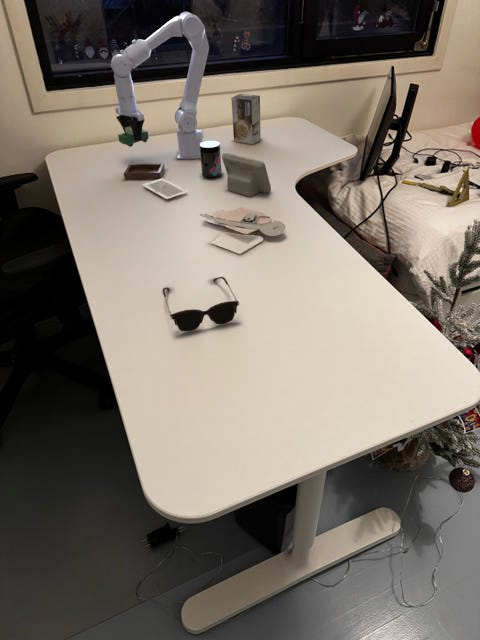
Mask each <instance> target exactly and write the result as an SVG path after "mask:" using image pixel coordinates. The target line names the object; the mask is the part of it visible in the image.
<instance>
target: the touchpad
mask: <svg viewBox="0 0 480 640" xmlns="http://www.w3.org/2000/svg"><path fill="white" fill-rule="evenodd" d="M142 186H143V187H145V188H146V189H148V190H149V191H151V192H153V193H155V194H157V195H159V196H160V197H162V198H163V199H166V200H168V199H172V198H174V197H177V196H180V195H183V194H186V193H188V192H189V191H188V190H187V189H184V188H182V187H180V186H179V185H177V184H174V183H173V182H171V181H169V180H168V179H165V178H163V177H162V178H161V179H158V180H152V181H149V182H145V183H143V184H142Z"/></svg>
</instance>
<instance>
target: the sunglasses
mask: <svg viewBox="0 0 480 640" xmlns="http://www.w3.org/2000/svg"><path fill="white" fill-rule="evenodd" d="M220 279H221V280H223V281H224V284H225V285H226V286H227V287H228V289H229V291H230V292H231V295H232V296H233V298H234V300H230V301H223V302H220V303H217V304H214V305H212V306H211V307H209V308H208V309H207V310H201V309H195V308H194V309H185V310H181V311H176V312H174V313H172V312H171V310H170V307H169V303H168V301H167V295H166V291H168V292H169V291H170V288H169V287H168V286H167V287H163V288H162V295H163V297H164V300H165V303H166V306H167V310H168V313H169V316H170V320H173V322H174V325H175V327H177V328H178V330H179V331H181V332H186V333H188V332H192V331H193V332H194V331H196V330H197V329H199V327H200V326H201V324H203V321H204V317H205V316H208V318H209V319H210V321H212V322H213V323H214V324H216V325H218V326H219V325H220V326H221V325H225V324H228V323H230V322H232V321H233V320H234V318H235V315H236V314H237V311H238V306H239V305H240V301H239V300H238V299H237V297H236V296H235V293H234V292H233V290H232V289H231V286H230V284H229V282H228V280H227V279H226V278H225V277H224V276H218V277H215V278H213V279H212V281H213V282H214V283H216V282H217V281H218V280H220ZM165 290H166V291H165Z"/></svg>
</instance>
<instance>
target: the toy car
mask: <svg viewBox="0 0 480 640" xmlns="http://www.w3.org/2000/svg"><path fill="white" fill-rule="evenodd" d="M125 131H126V133H125V132H123V133H120V134H119V133H118V134H117V136H118V142H119V143H120V144H122V145H126V146H127V147H129V148H131V147H133V146H134V144H136V143H139V142H143V143H147V142H148V140H149V138H150V137H149V132H148V130H144V129H142V135H141V140H138V141H135V138H134V136H133V132H132V129H131V127H130V126H129V127H126V128H125Z"/></svg>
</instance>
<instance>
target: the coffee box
mask: <svg viewBox="0 0 480 640" xmlns="http://www.w3.org/2000/svg"><path fill="white" fill-rule="evenodd" d="M230 98H231V113H232V115H231V116H232V133H233V135H232V136H233V142H236V143H243V144H251V145H254V144H256V143H257V142H259V141H261V140H262V139H261V95H256V94H248V93H238V94H236V95H234V96H233V97H232V96H231V97H230Z"/></svg>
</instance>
